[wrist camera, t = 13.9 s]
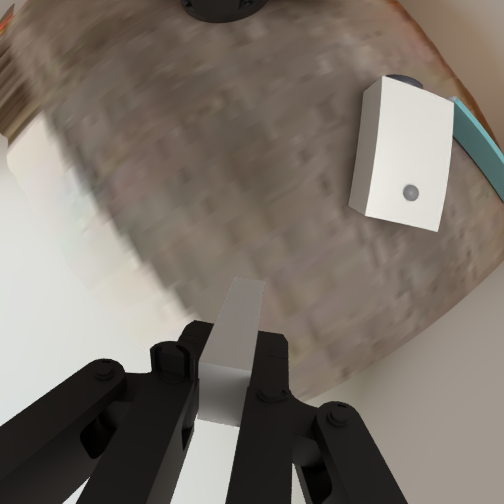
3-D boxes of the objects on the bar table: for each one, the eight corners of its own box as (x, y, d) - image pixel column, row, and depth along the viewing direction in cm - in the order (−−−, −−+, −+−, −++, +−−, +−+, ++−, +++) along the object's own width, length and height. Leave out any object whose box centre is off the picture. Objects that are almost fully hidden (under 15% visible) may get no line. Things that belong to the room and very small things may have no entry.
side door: (426, 107, 34) (451, 98, 26) (430, 100, 33) (456, 90, 25) (505, 205, 36) (532, 213, 28) (509, 198, 35) (535, 205, 27)
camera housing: (363, 83, 35) (384, 63, 25) (425, 103, 34) (456, 92, 25) (348, 205, 40) (366, 216, 31) (410, 219, 40) (440, 232, 31)
